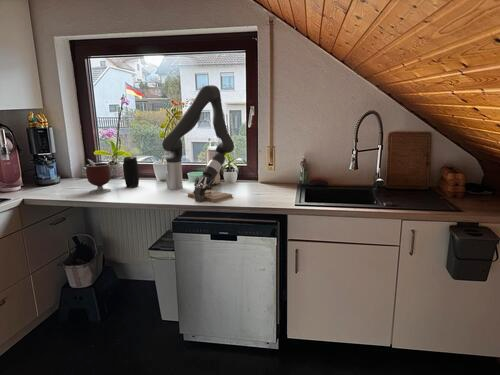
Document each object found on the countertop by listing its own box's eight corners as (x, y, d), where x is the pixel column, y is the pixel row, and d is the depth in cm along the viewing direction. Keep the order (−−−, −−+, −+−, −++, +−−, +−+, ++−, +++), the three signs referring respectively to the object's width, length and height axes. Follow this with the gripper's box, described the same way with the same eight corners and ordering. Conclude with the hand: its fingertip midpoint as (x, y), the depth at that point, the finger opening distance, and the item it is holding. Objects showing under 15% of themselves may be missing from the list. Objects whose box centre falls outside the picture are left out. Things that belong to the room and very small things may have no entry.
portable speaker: (125, 185, 240) (123, 156, 236) (140, 184, 242) (138, 156, 238) (124, 188, 232) (121, 158, 228) (139, 187, 234) (137, 157, 230)
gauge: (195, 201, 197) (194, 187, 196) (208, 197, 205) (207, 183, 203) (200, 202, 195) (199, 187, 193) (213, 198, 202) (212, 184, 201)
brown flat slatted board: (187, 196, 207) (187, 193, 207) (205, 192, 218) (205, 189, 217) (215, 202, 194) (215, 199, 193) (232, 197, 204) (232, 194, 204)
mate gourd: (117, 190, 226) (114, 159, 222) (98, 195, 214) (95, 162, 210) (100, 188, 233) (97, 157, 229) (81, 192, 222) (78, 160, 217)
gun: (209, 190, 224) (209, 166, 222) (204, 189, 225) (203, 166, 223) (220, 185, 248) (220, 163, 246) (215, 185, 249) (215, 163, 247)
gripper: (199, 164, 204) (184, 189, 197) (218, 166, 195) (202, 192, 188) (206, 172, 209) (192, 196, 202) (224, 174, 200) (210, 200, 193)
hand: (197, 194), depth 195 cm, fingers closed on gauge, 4 cm apart
